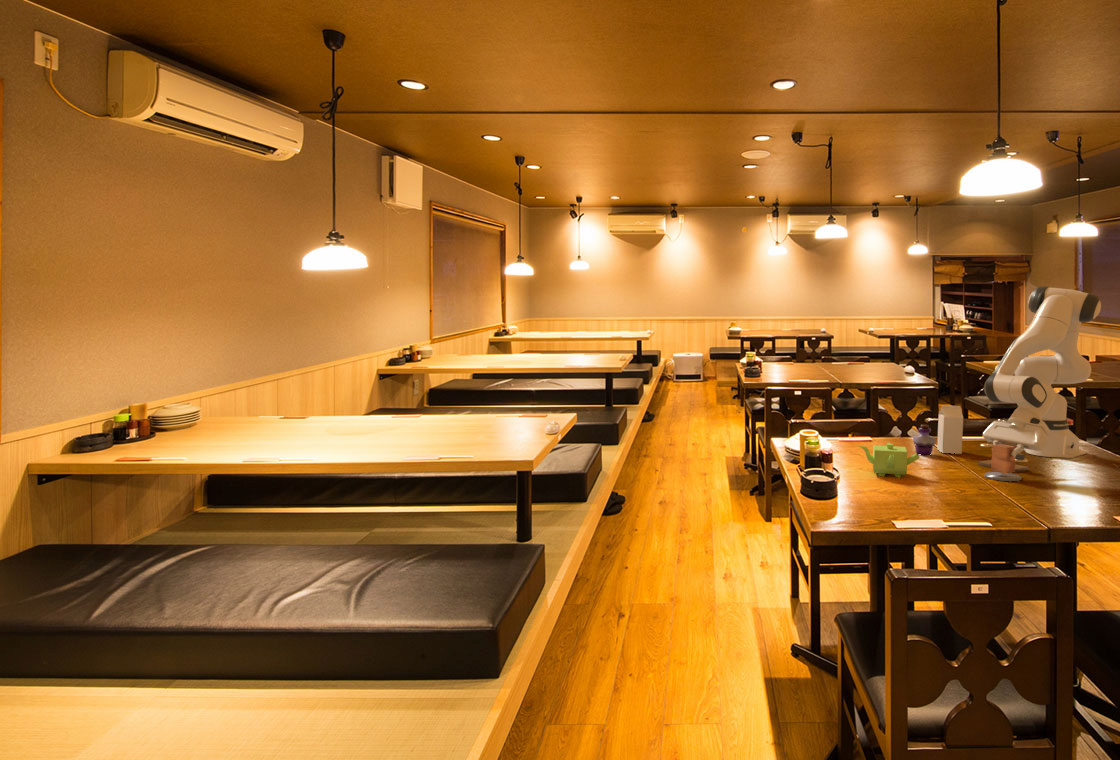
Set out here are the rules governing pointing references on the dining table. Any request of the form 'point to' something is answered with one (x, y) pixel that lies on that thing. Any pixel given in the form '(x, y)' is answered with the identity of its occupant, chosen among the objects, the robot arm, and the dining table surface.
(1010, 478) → the gray dish
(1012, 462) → the terracotta block
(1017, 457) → the brass balance
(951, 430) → the milk carton
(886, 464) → the kettle
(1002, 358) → the robot arm
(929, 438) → the potion bottle
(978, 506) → the dining table surface
